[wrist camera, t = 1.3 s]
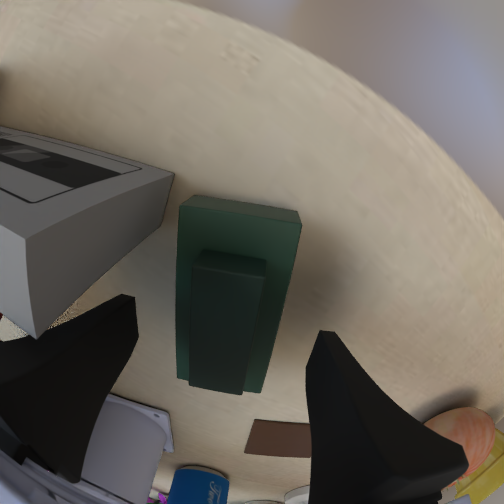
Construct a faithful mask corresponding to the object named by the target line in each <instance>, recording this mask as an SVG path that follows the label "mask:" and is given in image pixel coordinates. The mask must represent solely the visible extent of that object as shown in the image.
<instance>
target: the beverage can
mask: <svg viewBox="0 0 504 504" xmlns="http://www.w3.org/2000/svg"><path fill="white" fill-rule="evenodd" d="M228 490H229V481H228V480H227V479H226V478H224V476H223V475H222V474H221V473H219V472H217V471H215V470H212V469H209V468H205V467H199V466H186V467H183V468H182V469H178V470H176V471H175V474H174V478H173V481H172V485H171V489H170V492H169V496H168V500H167V504H226V503H227V496H228Z"/></svg>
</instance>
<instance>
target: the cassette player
mask: <svg viewBox="0 0 504 504" xmlns="http://www.w3.org/2000/svg"><path fill="white" fill-rule="evenodd" d="M173 177H174V173H171V172H168V171H164V170H161V169H158V168H155V167H152V166H149V165H145V164H142V163H139V162H136V161H132V160H129V159H126V158H122V157H119V156H116V155H112V154H109V153H105V152H102V151H98V150H95V149H91V148H87V147H84V146H80V145H76V144H72V143H69V142H65V141H61V140H57V139H53V138H49V137H45V136H41V135H37V134H32V133H28V132H24V131H19V130H15V129H10V128H5V127H1V126H0V313H2V314H3V315H4V316H5V317H7V318H8V319H9V320H10V321H12V322H13V323H14V324H16V325H17V326H18V327H20V328H21V329H22V330H24V331H25V332H27V333H28V334H29V335H31V336H32V337H34V338H35V339H38V338H39V337H40V336H41V335H42V334H43V333H44V332H45V330H46V329H47V328H48V327H49V326H50V325H51V324H52V323H53V322H54V321H55V320H56V319H57V318H58V317H59V316H60V315H61V314H62V313H63V312H64V311H65V310H66V309H67V308H68V307H69V306H70V305H71V304H72V303H73V302H75V301H76V300H77V299H78V298H79V297H80V296H81V295H82V294H83V293H84V292H85V291H86V290H87V289H88V288H89V287H90V286H91V285H93V284H94V283H95V282H96V281H97V280H98V279H99V278H100V277H101V276H102V275H104V274H105V273H106V272H107V271H108V270H109V269H110V268H111V267H113V266H114V265H115V264H116V263H117V262H118V261H119V260H120V259H122V258H123V257H124V256H125V255H126V254H127V253H129V252H130V251H131V250H132V249H133V248H135V247H136V246H137V245H138V244H139V243H140V242H142V241H143V240H144V239H145V238H147V237H148V236H149V235H150V234H151V233H153V232H154V231H155V230H156V229H158V228H159V227H160V226H161V222H162V218H163V214H164V210H165V206H166V202H167V199H168V195H169V191H170V188H171V184H172V181H173Z"/></svg>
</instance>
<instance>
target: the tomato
mask: <svg viewBox="0 0 504 504" xmlns="http://www.w3.org/2000/svg"><path fill="white" fill-rule="evenodd" d="M423 425H425V426H426V427H428V428H430V429H431V430H433V431H435V432H436V433H438V434H440V435H441V436H443V437H445V438H448V439H450V440H452V441H454V442H456V443H458V444H460V445H462V446H463V449H464V451H465V454H466V457H467V459H468V462H469V467H468V469H467V471H466V472H465V473H464V474H463V475H462V476H461V477H459V478H458V479H457V480H455V481H454V482H453V483H451V484H450V485H448V486H447V487H445V488H444V489H446V488H447V490H448V487H451V486H453V485H455V484H456V483H458V484H459V485H460V483H459V481H461V480H462V479H463V480H464V478H467V476H469V475H470V474H472V473H473V472H474V471H476V470H477V469H478V467H480V466H481V465H482V464H483V463H484V461H485V460H486V459H487V457H488V456H489V454H490V452H491V450H492V448H493V445H494V441H495V425H494V422H493V420H492V418H491V417H490V416H489V415H488V414H487V413H485V412H484V411H482V410H480V409H477V408H473V407H463V408H456V409H452V410H449V411H446V412H444V413H441V414H439V415H437V416H435V417H433V418H432V419H430V420H428V421H427V422H425V423H424V424H423ZM442 490H443V489H442Z"/></svg>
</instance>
